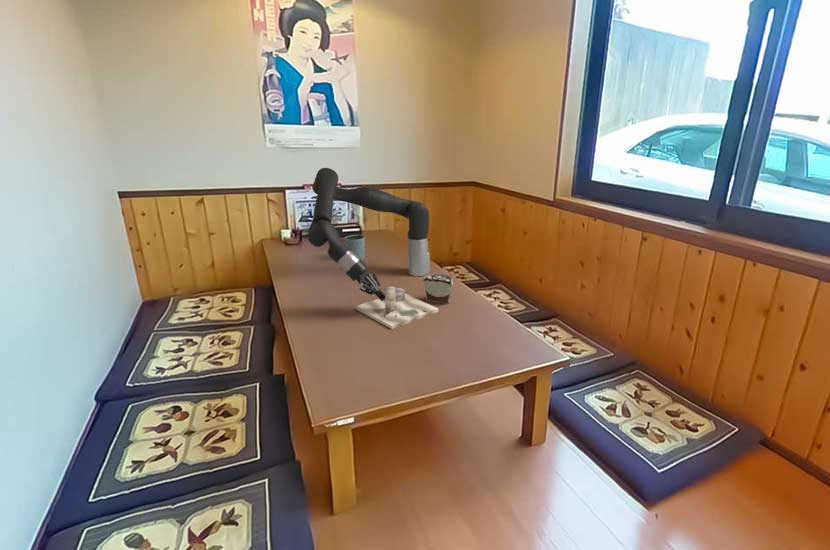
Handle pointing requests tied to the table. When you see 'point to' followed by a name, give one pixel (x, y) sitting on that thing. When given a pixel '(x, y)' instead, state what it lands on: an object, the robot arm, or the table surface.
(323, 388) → the table surface
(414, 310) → the dial plate
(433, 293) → the food container
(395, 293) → the peg dial
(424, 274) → the robot arm
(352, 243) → the grey cup
